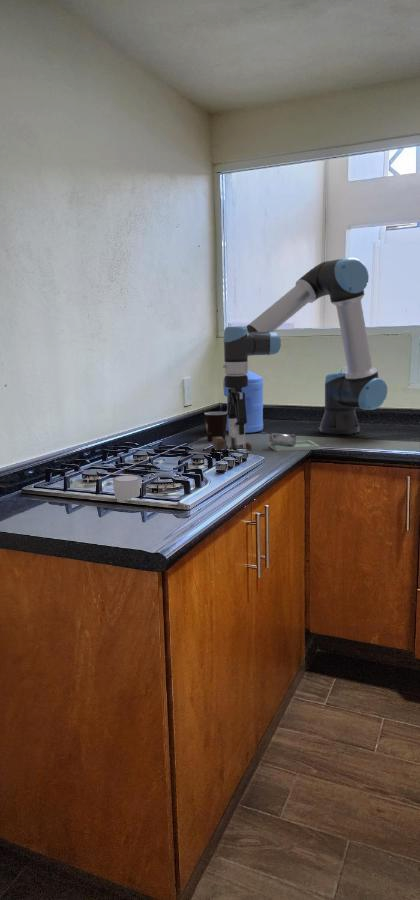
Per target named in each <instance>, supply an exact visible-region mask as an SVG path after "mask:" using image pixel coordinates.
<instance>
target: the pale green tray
mask: <svg viewBox="0 0 420 900" xmlns="http://www.w3.org/2000/svg"><path fill="white" fill-rule="evenodd" d="M268 447H269V448H270V449H272V450H274V451H276V452H289V451H290V452H293V451H312V450H315V451H317V450H320V448H321V447H320V445H319V444H318V443H316V442H314V441H312V440H310V439H309V440H296V444H295V446H294V447H293V446H278V445H270V442H268Z"/></svg>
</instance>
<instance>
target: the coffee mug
mask: <svg viewBox="0 0 420 900" xmlns="http://www.w3.org/2000/svg"><path fill="white" fill-rule="evenodd" d="M203 416H204V423H205V429H206V438H207V441H208V442H212V437H217V436H221V437H222V438H223V439H225V440H226V434H227V431H226V426H227V412H226V411H208V412H207V411H206V412H204V413H203Z"/></svg>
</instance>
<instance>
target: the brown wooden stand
mask: <svg viewBox="0 0 420 900" xmlns="http://www.w3.org/2000/svg"><path fill="white" fill-rule="evenodd" d="M211 444H212V445H214V446H215V449H216V450H221V449H229V446H228V444H227V440H226V438H225V439H223V438H222V437H221V436H217V437H212V443H211ZM252 447H253V445H252V444H251V443H250V442H245V447H243V449H247V450H252V449H253V448H252Z"/></svg>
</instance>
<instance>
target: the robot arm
mask: <svg viewBox="0 0 420 900" xmlns="http://www.w3.org/2000/svg"><path fill="white" fill-rule="evenodd" d="M369 278H370V277H369V271H368V268H367V266H366V265H365V263H364V262H363V261H361V260H360V259H358V258H355V257H342V258H339V259H332V260H327V261H326V260H325V261H322V262H321V263H319V264H317V265H315V266H313V268H311V269H310V270H309V271H307V272H306V273H305V274H304V275H302V276H301V277H300V278H299V279H298V280H296V282H295V286H293V287H292V288H291V289H290V290H288V291H287V292H286V293H285V294H284V295H282V296H281V297H280V298H279V299H278V300H277V301H275V302H274V303H273V304H271V305H270V306H269V307H268V308H267V309H265V310H264V311H263V312H262V313H261V314H259V315H258V316H257V317H256V318H254V319H253V320H252V321H251V322H250V323H249V324H247V325H246V326H243V325H242V326H226V327H225V328H224V330H223V352H224V354H223V355H224V356H223V357H224V364H223V365H222V368H223V369H224V374H225V375H224V378H225V387H228V388H231V389H228V410H227V409H226V411H227V416H228V418H230V419H229V432H228V438H229V439H231V425H234V424H235V425H236V430H237V445H241V444H243V445H246V433H245V424H246V423H247V417H246V406H245V393H242V387H247V386H248V376H247V375H246V374H247V373H248V370H249V368H248V367H249V366H248V365H249V363H248V362H249V361H248V357H249V356H250V357H251V356H271V355H276V354H278V353H279V352H280V350H281V347H282V344H281V343H282V342H281V341H282V340H281V339H282V338H281V336H280V335H279V333H278V332H276V330H277V329H279V328H280V327H281V326H282V325H283V324H284V323H286V322H287V321H288V320H289V319H290V318H291V317H293V316H294V315H296V313H298V312H299V311H300V310H301V309H303V308H304V307H305V306H307V305H308V303H309V304H313V303H314V302H316V300H318V299H320V298H321V297H324V296H329V298H330V299H329V300H330V303H331V304H332V305H335V307H336V313H337V318H338V322H339V328H340V335H341V339H342V340H341V341H342V345H343V350H344V355H345V356H344V357H345V360H346V366H347V371H344V372H334V373H328V374H327V375H326V376H325V382H324V413H323V416H322V419H321V422H320V426H319V433H323V434H327V435H337V434H346V435H354V434H353V433H355V434H358V433H360V423H359V421H358V418H357V416H358V415H357V414H356V409H361V410H363V411H367V410H369V411H372V410H376V409H378V408H379V407H381V406H382V405H383V404H384V401H385V400H386V399H387V395H388V385H387V383H386V382H385V380H384V379H382V378H380V377H379V371H378V369H377V368H376V367H374V366H373V363H372V356H371V352H370V345H369V340H368V334H367V329H366V322H365V316H364V311H363V306H362V305H363V304H362V299H363V298H364V296H365V288H366V287H367V286H368V283H369V280H370V279H369ZM235 418H237V419H235ZM357 432H358V433H357Z"/></svg>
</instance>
